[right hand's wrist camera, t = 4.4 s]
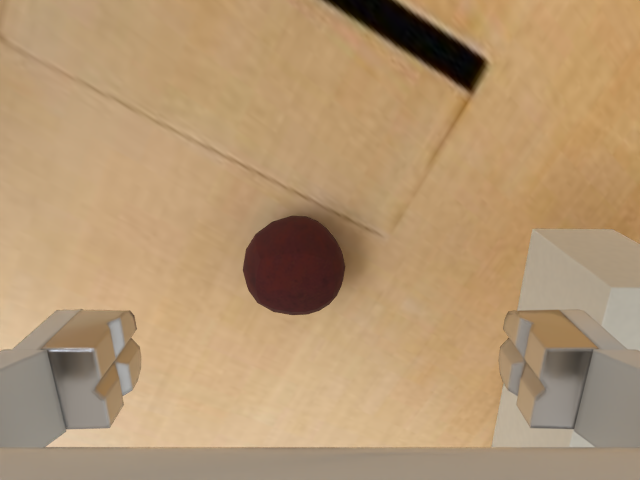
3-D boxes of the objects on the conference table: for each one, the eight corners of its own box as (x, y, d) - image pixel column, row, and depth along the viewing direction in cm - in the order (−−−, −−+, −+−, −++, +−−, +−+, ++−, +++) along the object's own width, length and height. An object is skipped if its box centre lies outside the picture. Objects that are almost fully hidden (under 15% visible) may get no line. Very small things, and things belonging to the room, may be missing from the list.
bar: (532, 228, 28) (611, 287, 20) (613, 228, 28) (722, 288, 20) (473, 542, 37) (512, 660, 30) (533, 542, 37) (586, 659, 30)
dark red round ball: (342, 286, 39) (347, 331, 32) (251, 287, 39) (238, 333, 32) (342, 204, 36) (348, 235, 30) (246, 205, 36) (230, 237, 30)
